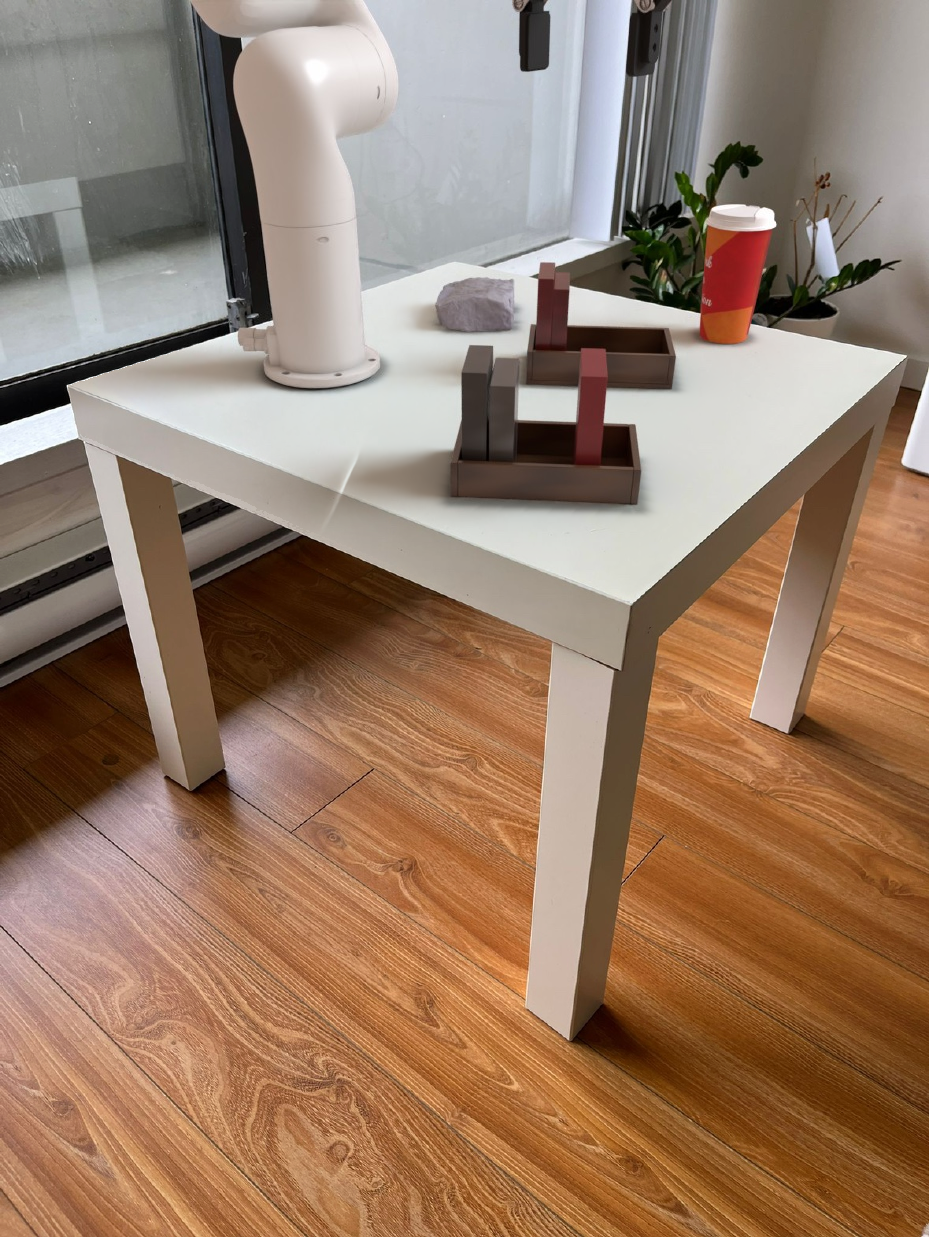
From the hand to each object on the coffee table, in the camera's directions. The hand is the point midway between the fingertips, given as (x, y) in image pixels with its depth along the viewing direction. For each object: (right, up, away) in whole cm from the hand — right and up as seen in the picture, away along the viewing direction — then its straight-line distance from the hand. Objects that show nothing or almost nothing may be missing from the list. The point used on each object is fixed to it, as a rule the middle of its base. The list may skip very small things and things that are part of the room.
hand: (585, 72), depth 73 cm
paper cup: (+21, -9, +38) cm, 45 cm away
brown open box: (+5, -16, +29) cm, 33 cm away
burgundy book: (+1, -30, +7) cm, 31 cm away
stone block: (-8, -5, +45) cm, 46 cm away
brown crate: (-3, -31, +7) cm, 32 cm away
